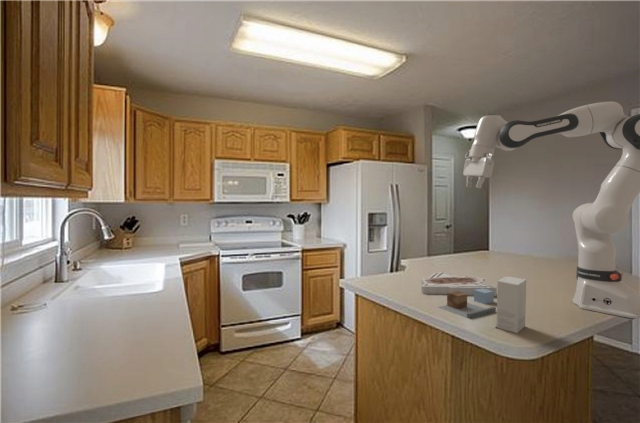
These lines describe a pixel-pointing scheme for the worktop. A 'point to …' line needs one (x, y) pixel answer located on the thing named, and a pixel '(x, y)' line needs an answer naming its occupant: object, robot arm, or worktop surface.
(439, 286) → the decorative sign
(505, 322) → the skincare box
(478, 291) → the blue block
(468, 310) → the grey flat square slab
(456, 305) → the walnut block
